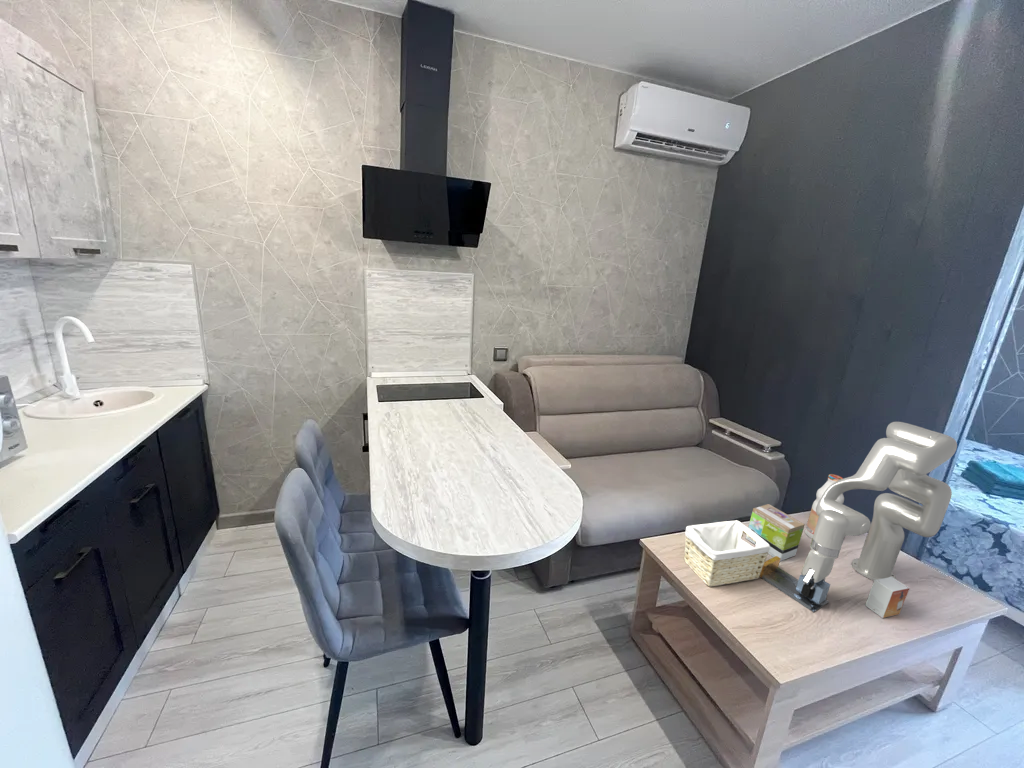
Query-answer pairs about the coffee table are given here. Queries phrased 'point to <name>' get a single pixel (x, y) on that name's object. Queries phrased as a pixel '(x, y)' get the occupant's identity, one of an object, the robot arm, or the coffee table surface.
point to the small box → (887, 597)
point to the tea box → (776, 530)
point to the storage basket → (724, 552)
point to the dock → (786, 583)
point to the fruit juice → (813, 515)
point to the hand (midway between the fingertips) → (810, 592)
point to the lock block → (820, 589)
